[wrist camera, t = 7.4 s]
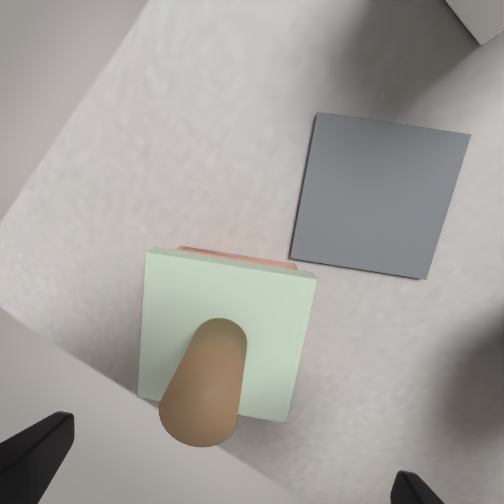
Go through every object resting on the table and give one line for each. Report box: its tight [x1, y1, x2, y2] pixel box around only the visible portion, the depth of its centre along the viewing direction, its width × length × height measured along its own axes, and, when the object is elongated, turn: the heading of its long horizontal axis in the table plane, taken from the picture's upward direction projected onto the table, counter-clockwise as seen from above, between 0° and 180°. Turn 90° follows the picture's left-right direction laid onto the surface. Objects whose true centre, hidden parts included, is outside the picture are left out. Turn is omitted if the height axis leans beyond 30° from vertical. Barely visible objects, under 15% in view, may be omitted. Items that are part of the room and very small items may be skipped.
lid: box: [137, 247, 317, 447], centre depth 13 cm, size 9×9×6 cm
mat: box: [290, 112, 471, 280], centre depth 17 cm, size 9×9×1 cm
